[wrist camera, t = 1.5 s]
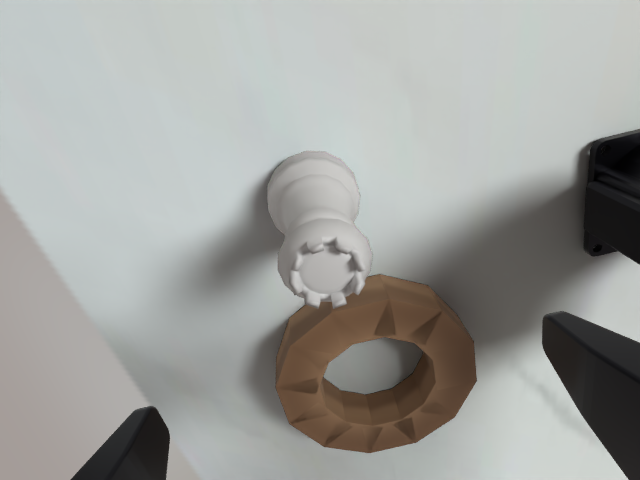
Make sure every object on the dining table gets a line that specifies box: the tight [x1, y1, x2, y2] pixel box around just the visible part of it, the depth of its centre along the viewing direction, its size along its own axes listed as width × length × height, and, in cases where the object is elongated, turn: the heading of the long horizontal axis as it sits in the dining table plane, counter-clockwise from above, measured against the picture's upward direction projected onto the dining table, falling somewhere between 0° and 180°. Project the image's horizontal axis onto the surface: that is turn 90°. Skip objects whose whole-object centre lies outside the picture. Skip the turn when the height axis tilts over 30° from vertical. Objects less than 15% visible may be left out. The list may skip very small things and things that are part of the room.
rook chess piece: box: [267, 151, 373, 309], centre depth 17 cm, size 4×4×8 cm
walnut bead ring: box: [276, 274, 477, 453], centre depth 24 cm, size 11×11×2 cm
